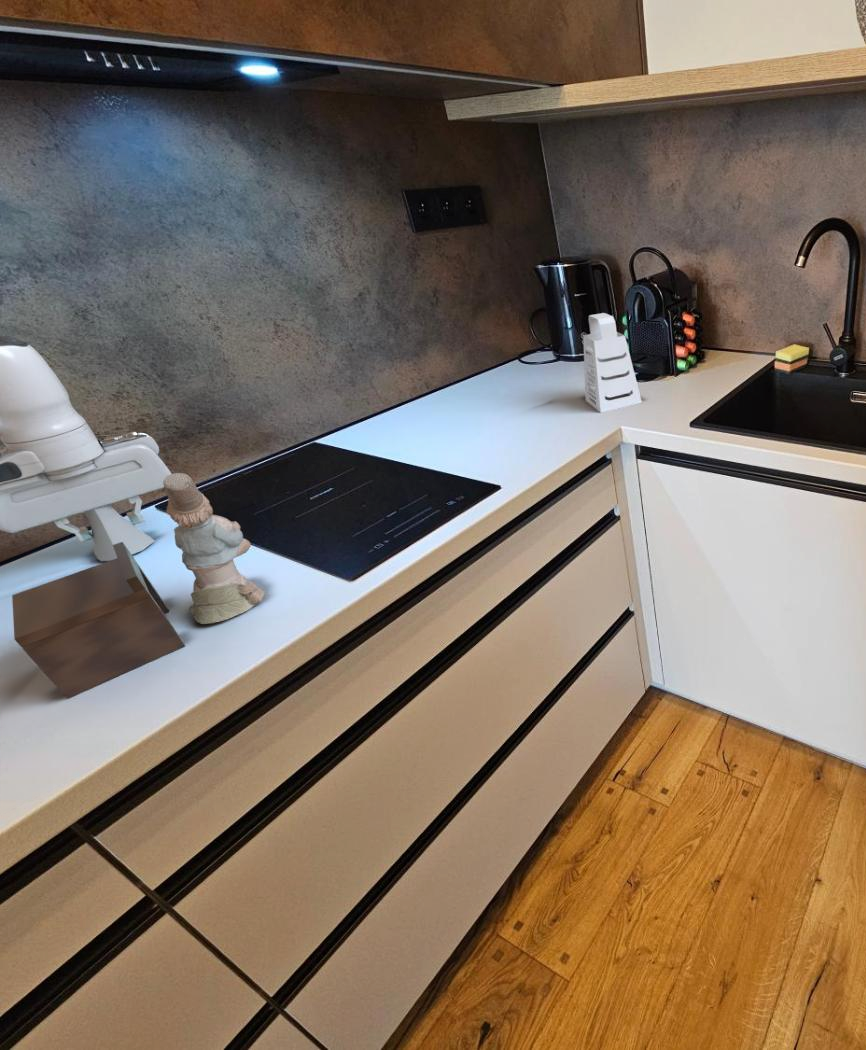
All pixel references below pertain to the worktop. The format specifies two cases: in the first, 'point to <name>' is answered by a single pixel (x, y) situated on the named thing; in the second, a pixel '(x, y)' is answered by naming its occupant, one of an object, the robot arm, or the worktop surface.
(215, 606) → the figurine
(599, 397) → the grater
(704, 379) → the worktop surface
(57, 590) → the wooden block with backboard
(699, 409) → the worktop surface
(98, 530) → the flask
